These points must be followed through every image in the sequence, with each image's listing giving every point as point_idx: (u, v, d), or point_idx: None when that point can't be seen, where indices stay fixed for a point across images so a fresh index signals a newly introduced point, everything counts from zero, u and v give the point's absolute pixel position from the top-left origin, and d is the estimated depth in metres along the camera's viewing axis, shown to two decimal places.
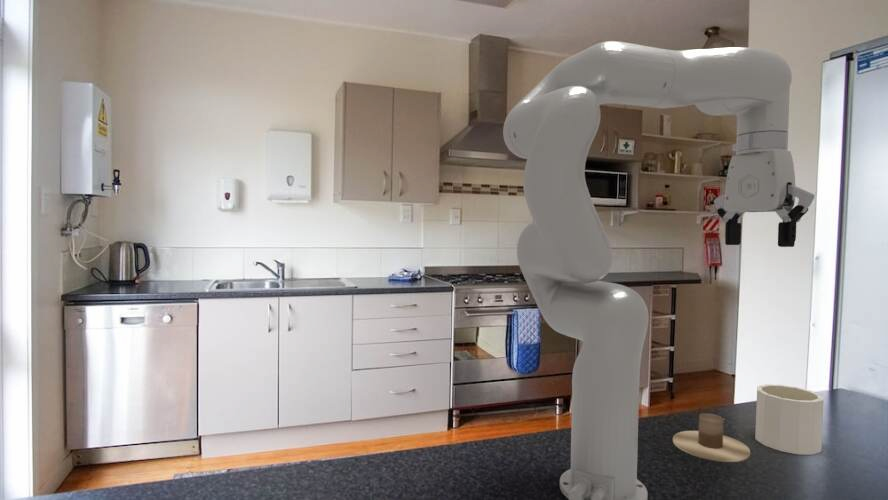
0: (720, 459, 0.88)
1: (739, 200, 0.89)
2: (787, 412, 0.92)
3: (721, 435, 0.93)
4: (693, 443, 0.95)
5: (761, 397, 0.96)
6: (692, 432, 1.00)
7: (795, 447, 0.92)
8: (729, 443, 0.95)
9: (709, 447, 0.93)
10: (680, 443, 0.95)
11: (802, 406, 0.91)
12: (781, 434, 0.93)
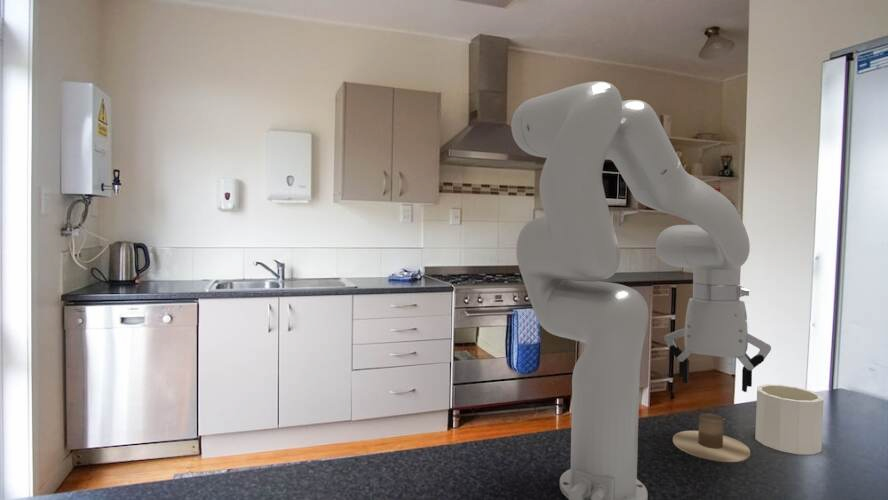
0: (720, 459, 0.88)
1: None
2: (787, 412, 0.92)
3: (721, 435, 0.93)
4: (693, 443, 0.95)
5: (761, 397, 0.96)
6: (692, 432, 1.00)
7: (795, 447, 0.92)
8: (729, 443, 0.95)
9: (709, 447, 0.93)
10: (680, 443, 0.95)
11: (802, 406, 0.91)
12: (781, 434, 0.93)
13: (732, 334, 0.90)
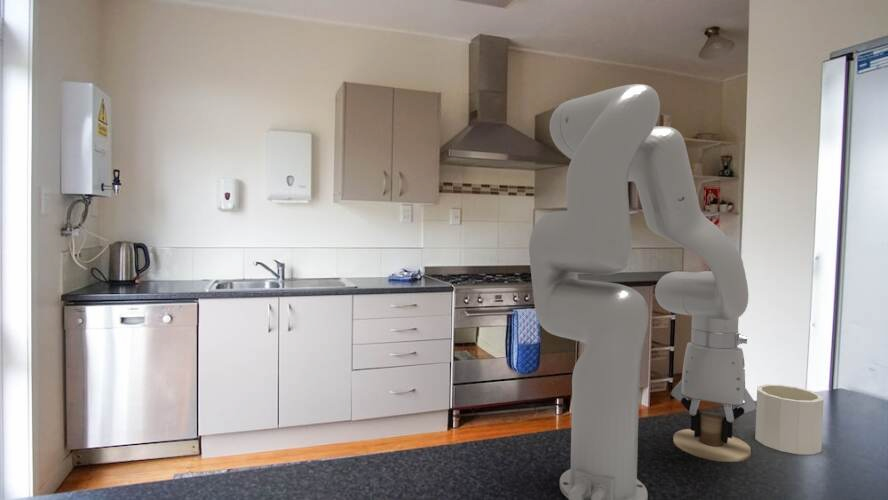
0: (721, 457, 0.88)
1: None
2: (787, 412, 0.92)
3: (722, 433, 0.93)
4: (694, 441, 0.95)
5: (761, 397, 0.96)
6: None
7: (795, 447, 0.92)
8: (729, 441, 0.95)
9: (710, 445, 0.93)
10: (681, 441, 0.95)
11: (802, 406, 0.91)
12: (781, 434, 0.93)
13: (730, 382, 0.91)
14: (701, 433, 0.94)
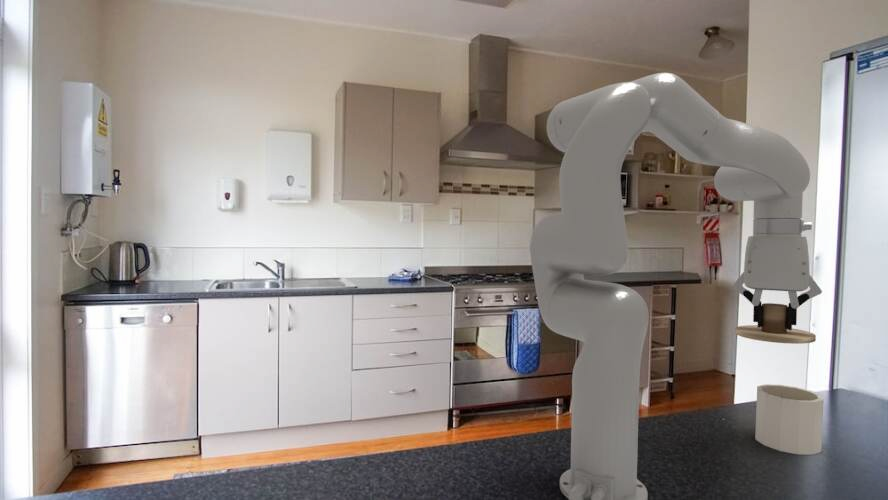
0: (788, 339, 0.89)
1: None
2: (787, 412, 0.92)
3: (786, 321, 0.94)
4: (757, 331, 0.95)
5: (761, 397, 0.96)
6: (752, 326, 1.01)
7: (795, 447, 0.92)
8: (792, 331, 0.96)
9: (774, 333, 0.94)
10: (744, 331, 0.96)
11: (802, 406, 0.91)
12: (781, 434, 0.93)
13: (795, 267, 0.91)
14: (764, 322, 0.95)
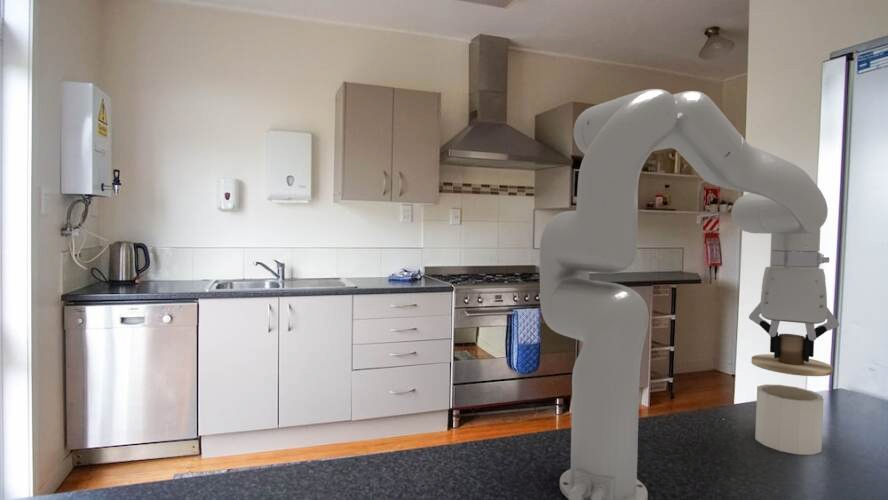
0: (806, 372, 0.90)
1: None
2: (787, 412, 0.92)
3: (803, 352, 0.94)
4: (774, 362, 0.96)
5: (761, 397, 0.96)
6: (768, 355, 1.01)
7: (795, 447, 0.92)
8: (809, 362, 0.96)
9: (791, 364, 0.94)
10: (761, 361, 0.96)
11: (802, 406, 0.91)
12: (781, 434, 0.93)
13: (812, 300, 0.92)
14: (781, 353, 0.96)
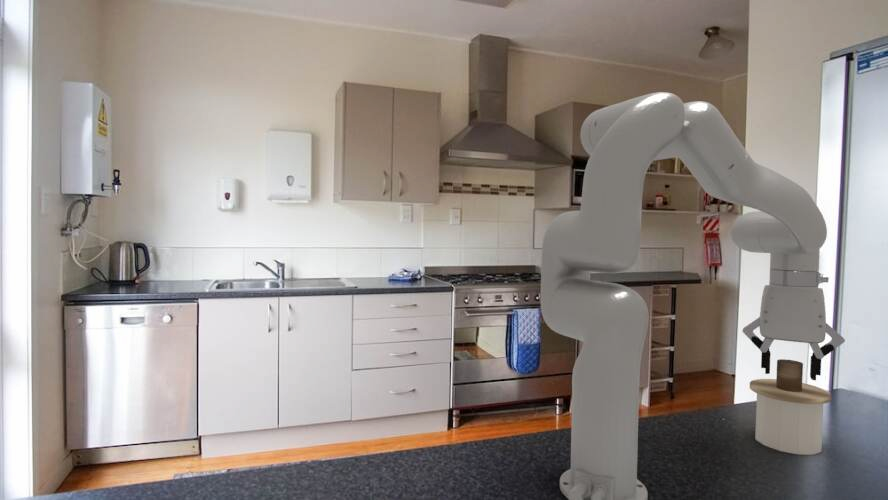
0: (804, 400, 0.90)
1: None
2: (787, 412, 0.92)
3: (801, 379, 0.94)
4: (772, 388, 0.96)
5: (761, 397, 0.96)
6: (767, 380, 1.01)
7: (795, 447, 0.92)
8: (807, 388, 0.96)
9: (789, 390, 0.94)
10: (759, 387, 0.96)
11: (802, 406, 0.91)
12: (781, 434, 0.93)
13: (811, 319, 0.92)
14: (779, 379, 0.96)
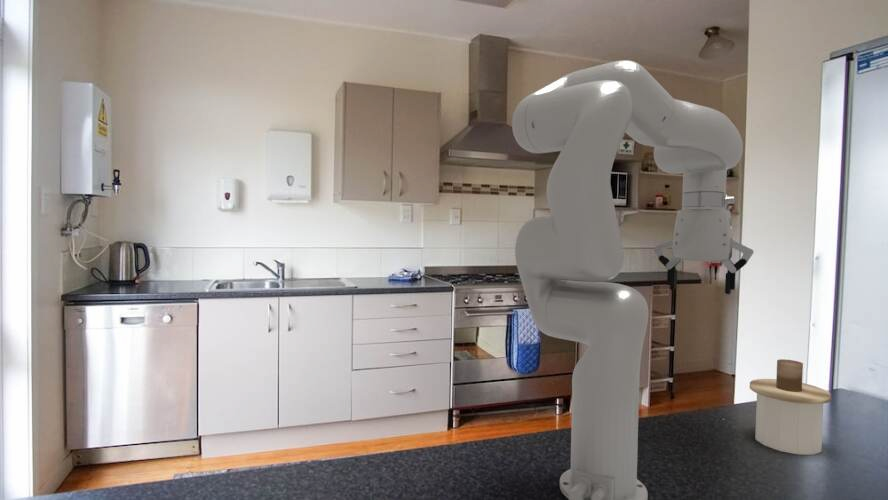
0: (804, 400, 0.90)
1: None
2: (787, 412, 0.92)
3: (801, 379, 0.94)
4: (772, 388, 0.96)
5: (761, 397, 0.96)
6: (767, 380, 1.01)
7: (795, 447, 0.92)
8: (807, 388, 0.96)
9: (789, 390, 0.94)
10: (759, 387, 0.96)
11: (802, 406, 0.91)
12: (781, 434, 0.93)
13: (717, 238, 0.96)
14: (779, 379, 0.96)
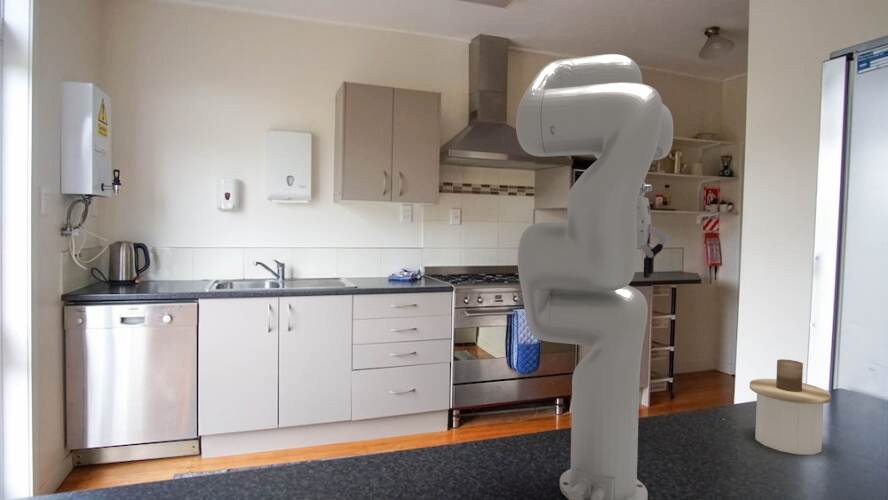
0: (804, 400, 0.90)
1: None
2: (787, 412, 0.92)
3: (801, 379, 0.94)
4: (772, 388, 0.96)
5: (761, 397, 0.96)
6: (767, 380, 1.01)
7: (795, 447, 0.92)
8: (807, 388, 0.96)
9: (789, 390, 0.94)
10: (759, 387, 0.96)
11: (802, 406, 0.91)
12: (781, 434, 0.93)
13: None
14: (779, 379, 0.96)
